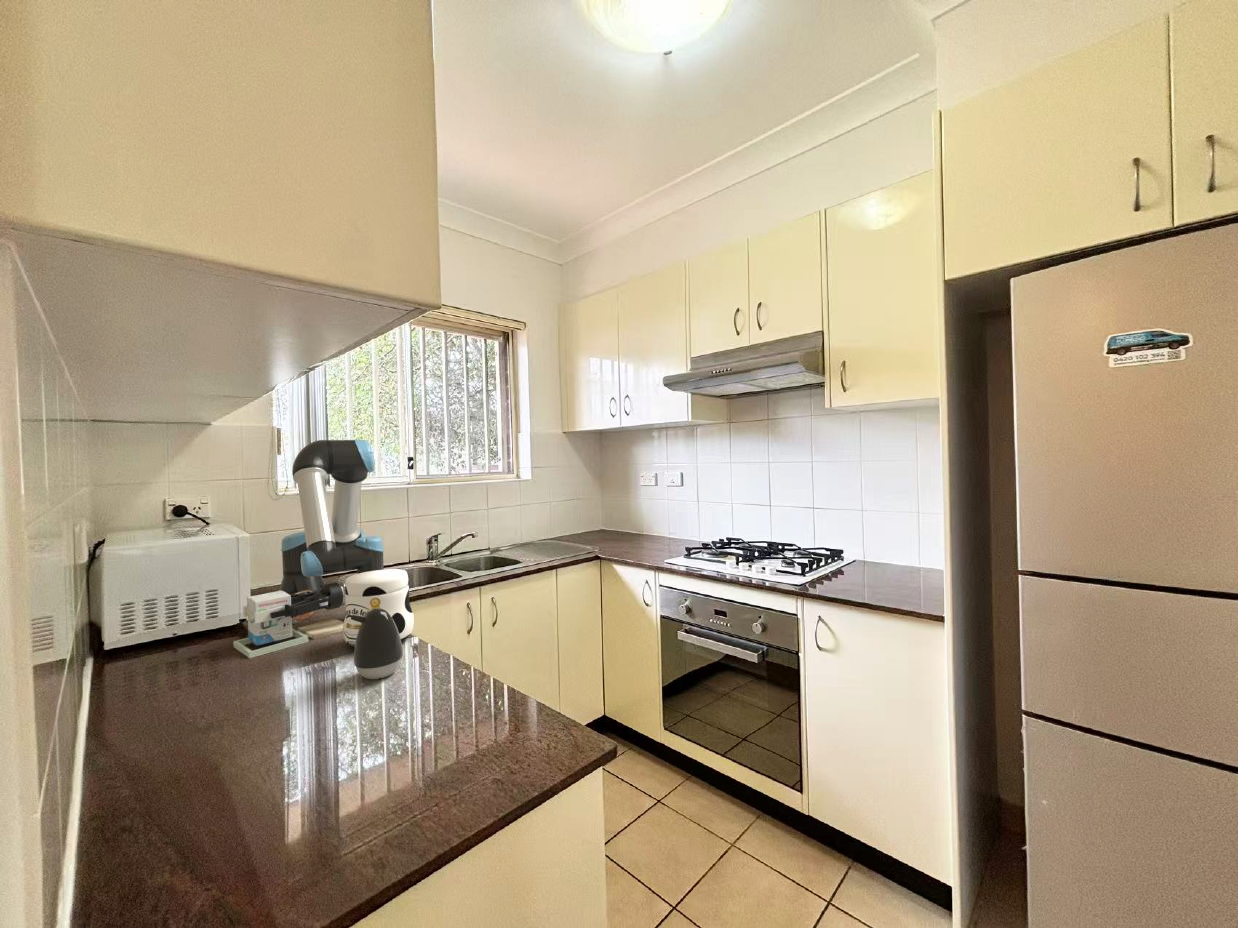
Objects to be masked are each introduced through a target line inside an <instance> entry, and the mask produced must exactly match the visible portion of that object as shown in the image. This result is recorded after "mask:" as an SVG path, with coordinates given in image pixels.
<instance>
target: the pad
mask: <svg viewBox="0 0 1238 928" xmlns="http://www.w3.org/2000/svg"><path fill="white" fill-rule="evenodd" d="M343 625H344V621H342V620H339V619H337V618H335V617H333V618H329V619H326V620H322V621H317V622H314V623H310V624H306V625H302V626H298V627H297V631H299V632H301V633H303V634H305V635H307V636H308V638H311V639H313V640H317V639H319V638H323V637H327V636H330V635H334V634H337V633H341V632H343Z"/></svg>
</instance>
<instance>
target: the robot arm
mask: <svg viewBox="0 0 1238 928" xmlns="http://www.w3.org/2000/svg"><path fill="white" fill-rule="evenodd" d="M291 470H292V471H291V472H292V480H293V482H294V483H295V484H297V489H298V495H299V496H298V497H299V503H300V508H301V514H302V516H301V517H302V523H303V530H304V531H298V532H295V533H291V534H288V535H286V536H284V537H283V538H282V540H281V549H280V551H281V556H282V557H281V560H282V580H281V582H280V586H279V589H278V591H284V592H286V593H287V594H289V595H291V605H290V606H289V605H287V604H285V609H284V607H278V608H274V609H270V610H265V611H261V612H256V613H254V618H255V624H257V623H261V622H265V621H269V620H274V619H278V618H282V617H284V616H285V617H289V616H290V617H291V618H293V617H296V616H299V615H303V614H306V613H309V612H312V611H315V612H316V611H318V610H323V609H325V610H327V611H330V610H333V609H338V608H339V609H340V608H341V607H346V601H345V594H346V592H345V581H346V579H343V580H338V582H331V583H325V581H324V578H323V577H322V576H323V575H324V576H325V575H330V574H335V573H342V572H343V573H344V572H349V571H350V572H351V571H355V570H357V572H356V574H359V573H364V572H369V571H376V570H385V569H384V566H385V565H384V547H383V546H384V545H383V538H381V537H379V536H377V535H373V536H372V535H371V536H370V535H369V536H365V533H364V531H363V530H362V529H361V528H360V527H359V525H358V519H359V518H358V517H359V508H360V503H361V502H360V501H361V500H360V499H361V494H362V493H361V492H362V485H363V482H364V481H365V480H366V479H368V478H367V477H368V474H370V473H373V472H374V471H375V459H374V453H373V449H372V446H371V444H370V441H368V440H366V439H357V438H354V439H333V440H332V439H331V440H330V439H319V440H315V441H313V442H310V443H308V444H307V445H305V446H304V447H303V448H302V449H301V450H300V451H299V452H298V454H297V455H296V457H295V458H294V462H293V465H292V469H291ZM328 475H330V476H331V478H332V479H333V480H334V489H333V500H332V511H331V509H330V504H329V498H328V492H327V486H326V481H325V480H326V479H327V478H328ZM304 590H313V591H314V592H310V591H307V592H304V593H300V594H296V593H298V592H300V591H304ZM242 611H243V612H242V613H243V615H242V616H243V617H244V618H248V614H247V605H245V606H242Z"/></svg>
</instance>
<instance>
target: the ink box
mask: <svg viewBox="0 0 1238 928" xmlns="http://www.w3.org/2000/svg"><path fill="white" fill-rule="evenodd" d="M285 604H287V605H289V606H290V605H291V595H289V594H287V593H286V592H284V591H279V590H276V591H272V592H266V593H262V594H257V595H251V596H247V597H246V606H247V614H248V616H247V629H248V630H247V631H248V638H249V639H250V640H251V641H252V642H253V643H252V644H254V645H255V646H262V645H264V644H269V643H273V642H276V641H277V642H278V641H281V640H285V639H289V638H293V636H292V628H293V624H292V618H291V617H290V616H289V617H285V616H284V617H282V618H278V619H274V620H269V621H265V622H261V623H257V624H255V618H254V613H256V612H261V611H265V610H270V609H274V608H278V607H284V609H285Z"/></svg>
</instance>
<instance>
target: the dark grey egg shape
mask: <svg viewBox="0 0 1238 928" xmlns="http://www.w3.org/2000/svg"><path fill="white" fill-rule="evenodd" d="M351 620H354V621H357V622H360V623H361V626H360V628H359V631H358V634H357V638H356V643H355V648H354V649H353V650H354V651H353V665H354V666H355V667H356V668H355V669H356V671H357V672H358V674H359V675H360V676H361V677H363V678H364V679H367V680H379V678H381V679H383V678H387V677H389V676H391V675H392V674H393V673H394V672H396V671H397V670H398V668H399V666H400V664H401V661H402V658H403V656H404V651H403V650H404V649H403V644H402V641H401V638H400V635H399V632H398V629H397V627H396V624H395V622H394V620H393V619H392V617H391V615H390V614H389V613H388V612H387V611H386V610H384V609H381V608H376V609H373V610H371V611H369V612H368V613H367V614H366V616H365V617H363V616H357V615H352V616H351Z"/></svg>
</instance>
